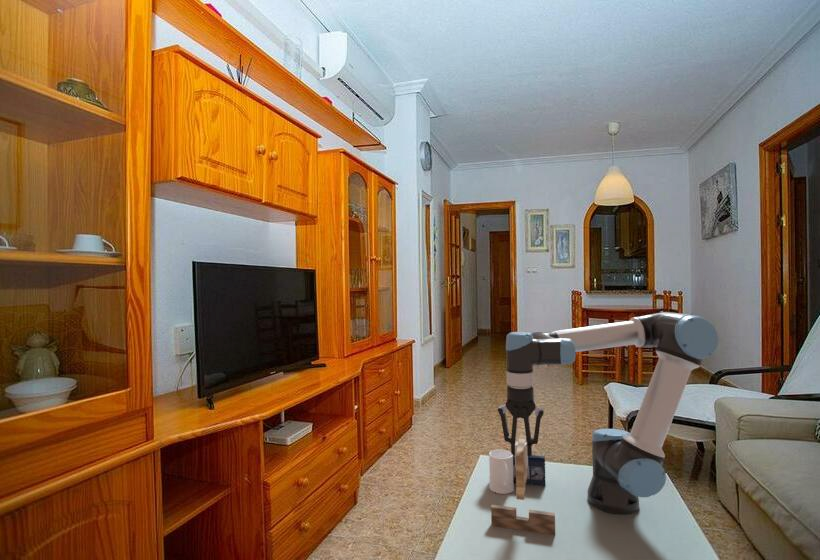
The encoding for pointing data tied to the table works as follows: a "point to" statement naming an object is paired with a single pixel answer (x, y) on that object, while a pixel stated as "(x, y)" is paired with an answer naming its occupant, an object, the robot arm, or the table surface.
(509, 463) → the mug
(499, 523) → the standing plate
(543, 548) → the table surface
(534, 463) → the vhs cassette tape
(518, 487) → the cross plate
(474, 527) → the table surface
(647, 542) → the table surface
